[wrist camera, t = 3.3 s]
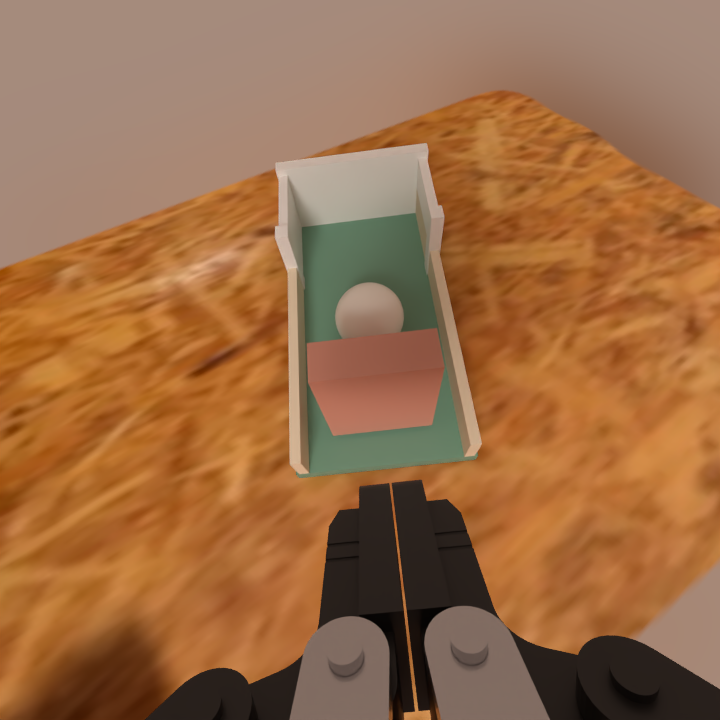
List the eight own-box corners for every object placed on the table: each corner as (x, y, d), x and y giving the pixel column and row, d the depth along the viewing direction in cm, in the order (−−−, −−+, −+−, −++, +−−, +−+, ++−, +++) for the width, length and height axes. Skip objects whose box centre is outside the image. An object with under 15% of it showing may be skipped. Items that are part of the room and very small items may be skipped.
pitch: (475, 459, 26) (485, 443, 23) (299, 478, 26) (286, 464, 23) (423, 213, 35) (425, 178, 32) (294, 230, 36) (284, 196, 32)
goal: (437, 273, 31) (444, 217, 26) (294, 290, 31) (275, 238, 27) (422, 204, 34) (426, 143, 29) (292, 220, 35) (275, 162, 30)
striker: (431, 425, 26) (444, 367, 18) (333, 435, 26) (308, 382, 19) (426, 394, 26) (437, 327, 19) (331, 405, 27) (306, 343, 20)
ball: (326, 339, 29) (315, 303, 25) (367, 297, 31) (362, 256, 27) (376, 375, 28) (372, 342, 24) (416, 329, 29) (419, 291, 25)
